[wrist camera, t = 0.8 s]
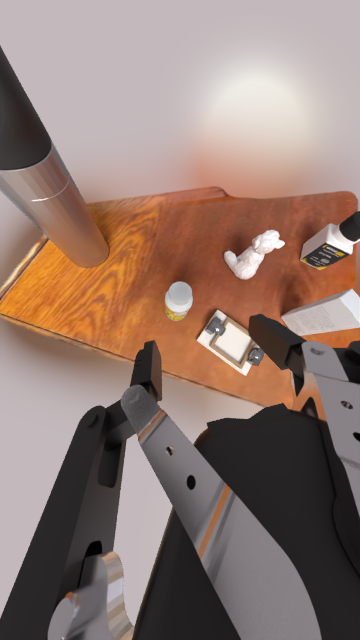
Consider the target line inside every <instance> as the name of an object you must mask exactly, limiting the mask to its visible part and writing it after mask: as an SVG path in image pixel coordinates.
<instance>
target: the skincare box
mask: <svg viewBox="0 0 360 640" xmlns="http://www.w3.org/2000/svg"><path fill="white" fill-rule="evenodd" d="M281 318H282V320H283V321H284V322H285V324H286V325H287V326H288V328H289V329H290V330H291V331H293V332H294V333H296V334H297V335H299V336H301V335H308V334H315V333H323V332H330V331H337V330H344V329H351V328H359V327H360V297H359V296H358V295H357V294H356V293H355V291H354V290H353V289H349V290H346V291H343V292H340V293H338V294H335V295H332V296H329V297H326V298H324V299H321V300H318V301H315V302H312V303H309V304H307V305H304V306H301V307H298V308H295V309H292V310H290V311H289V312H287V313H286V314H284V315H282V316H281Z"/></svg>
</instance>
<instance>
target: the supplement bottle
mask: <svg viewBox="0 0 360 640" xmlns="http://www.w3.org/2000/svg"><path fill="white" fill-rule="evenodd" d="M192 302H193V297H192V290H191V287H190V286H189V285H188V284H187V283H185V282H175V283H173V284H172V285H171V286H170V288H169V290H168V291H167V292H166V295H165V313H166V315H167V316H168V317H169V318H170V319H172V320H175V321H178V320H181V319H183V318H184V317H185V316H186V315H187V313H188V311H189V309H190V307H191V305H192Z"/></svg>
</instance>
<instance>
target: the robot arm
mask: <svg viewBox="0 0 360 640" xmlns="http://www.w3.org/2000/svg"><path fill="white" fill-rule="evenodd" d="M0 191H2V192H3V193H4V194H5V195H6V196H7V197H8V198H9V199H10V200H11V201H12V202H13V203H14V204H15V205H16V206H17V207H18V208H19V209H20V210H21V211H22V212H23V213H24V214H25V215H26V216H27V217H28V218H29V219H30V220H31V221H32V222H33V223H34V224H35V225H36V226H37V227H38V228H39V229H40V230H41V231H42V232H43V233H44V234H45V235H46V236H47V237H48V238H49V239H50V240H51V241H52V242H53V243H54V244H55V245H56V246H57V247H58V248H59V249H60V250H61V251H62V252H63V253H64V254H65V255H66V256H67V257H68V258H69V259H70V260H71V261H72V262H73V263H75V264H76V265H78V266H81V267H87V268H89V267H95V266H98V265H100V264H101V263H103V262H104V261H105V260H106V259H107V257H108V254H109V248H108V245H107V243H106V241H105V239H104V237H103V236H102V234H101V232H100V230H99V228H98V226H97V224H96V222H95V220H94V218H93V217H92V215H91V213H90V211H89V209H88V207H87V205H86V203H85V202H84V200H83V198H82V196H81V194H80V192H79V190H78V188H77V187H76V185H75V183H74V181H73V179H72V177H71V176H70V173H69V172H68V170H67V168H66V166H65V164H64V162H63V161H62V159H61V157H60V155H59V153H58V151H57V149H56V147H55V146H54V144H53V142H52V140H51V138H50V136H49V134H48V133H47V131H46V129H45V127H44V125H43V123H42V122H41V120H40V118H39V116H38V114H37V113H36V111H35V109H34V107H33V106H32V103H31V102H30V100H29V98H28V96H27V94H26V93H25V91H24V89H23V87H22V85H21V83H20V82H19V80H18V78H17V76H16V74H15V73H14V70H13V69H12V67H11V65H10V64H9V61H8V59H7V57H6V56H5V54H4V52H3V50H2V48H1V46H0ZM248 333H249V336H250V338H251V339H252V340H253V341H254V342H255V343H256V344H257V345H258V346H259V347H260V348H261V349H262V350H263V351H264V352H265V353H266V354H267V355H268V356H269V358H270V359H271V360H272V361H273V362H274V363H275V364H276V365H277V366H278V367H279V368H280V369H281V370H285V369H288V368H289V369H290V370H291V373H290V376H291V384H292V392H293V407H292V410H291V409H287V407H286V406H285V405H284V403H282V404H278V405H274V406H270V407H266V408H264V409H262V410H261V411H259V412H258V413H256V414H255V415H254V416H252V417H251V418H249V419H236V418H224V419H220V420H216V421H212V422H208V423H207V426H208V429H206V430H205V431H203V433H201V434H200V435H199V437H198V438H197V439H196V441H195V442H194V444H192V443H191V442H190V441H189V440H188V438H187V437H186V436H185V435H184V434H183V432H182V431H181V430H180V429H179V428H178V427H177V425H176V424H175V423H174V422H173V421H172V419H171V418H170V417H169V416H168V415H167V414H166V412H165V411H164V410H162V409H161V408H160V407H159V405H158V404H157V401H161V400H162V372H161V355H160V352H159V350H158V347H157V345H156V342H155V340H152V341H148V342H145V344H144V349H142V350H140V351H139V352H138V354H137V355H136V359H135V364H134V370H133V374H132V379H131V384H130V388H128V389H127V390H126V391H125V392H124V394H123V396H122V398H121V399H120V400H119V401H117V402H116V403H114V404H112V405H111V406H109V407H107V408H104V407H103V406H96V407H93V408H92V409H90V410H89V411H88V412H87V413H86V414H85V415H84V416H83V417H82V419H81V420H80V422H79V424H78V427H77V429H76V431H75V434H74V436H73V439H72V441H71V444H70V446H69V449H68V451H67V454H66V456H65V459H64V461H63V464H62V466H61V469H60V471H59V474H58V476H57V479H56V481H55V484H54V486H53V489H52V491H51V494H50V496H49V499H48V501H47V504H46V506H45V509H44V511H43V514H42V516H41V519H40V521H39V524H38V526H37V529H36V531H35V533H34V536H33V539H32V541H31V543H30V546H29V548H28V551H27V553H26V556H25V558H24V561H23V564H22V566H21V568H20V571H19V573H18V576H17V578H16V581H15V583H14V586H13V588H12V591H11V593H10V596H9V598H8V601H7V603H6V606H5V608H4V611H3V613H2V616H1V618H0V640H360V341H353V342H351V343H350V344H349V346H348V347H347V348H331V347H329V346H328V345H325V344H323V343H320V342H315V341H306V340H305V339H303V338H302V337H300V336H299V335H297V334H296V333H294V332H293V331H291V330H290V329H287V327H285V326H284V325H282V324H281V323H279V322H278V321H276V320H273V319H270V318H267V317H265V316H264V315H262V314H257V315H253V316H250V319H249V329H248ZM135 433H136V434H137V436H138V441H139V444H140V446H141V448H142V449H143V451H144V453H145V455H146V457H147V459H148V461H149V463H150V464H151V466H152V468H153V470H154V472H155V474H156V476H157V477H158V479H159V481H160V483H161V485H162V487H163V489H164V490H165V492H166V494H167V496H168V498H169V500H170V502H171V503H172V505H173V507H172V510H171V513H170V516H169V519H168V523H167V526H166V529H165V532H164V535H163V538H162V541H161V544H160V547H159V551H158V554H157V557H156V560H155V563H154V566H153V569H152V572H151V576H150V579H149V582H148V585H147V588H146V591H145V594H144V597H143V601H142V603H141V607H140V610H139V613H138V617H137V620H136V624H135V627H134V626H133V625H132V623H131V622H130V620H129V618H128V616H127V613H126V609H125V604H124V593H123V592H124V575H123V566H122V562H121V560H120V557H119V556H118V555H117V554H116V553H115V552H113V546H114V538H115V530H116V522H117V513H118V505H119V497H120V489H121V481H122V472H123V464H124V456H125V447H126V440H127V439H128V438H129V437H131V436H132V435H134V434H135Z"/></svg>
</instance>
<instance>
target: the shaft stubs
mask: <svg viewBox="0 0 360 640" xmlns="http://www.w3.org/2000/svg"><path fill="white" fill-rule="evenodd" d="M221 322H222V320H221V319H220V318H218V317H217V316H216V317H214V318H213V319H212V320H211V322H210V323H209V325H208V326H207V328H206V329H205V331H206V332H207V333H208V334H210V335H211V334H214V333H215V334H216V335H218V336H219V337H220V336H222V335H223V334H224V332H225V331H226V328H225V327H224V326H223V325H221V324H220V323H221ZM264 353H265V352H264V351H263V350H262V349H261V348H260V347H259V348H252V350H251V351H250V353H249V355H248V359H247V362H248V363H249V364H251V365H255V366H259V364H260V362H261V360H262V359H263V355H264Z"/></svg>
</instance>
